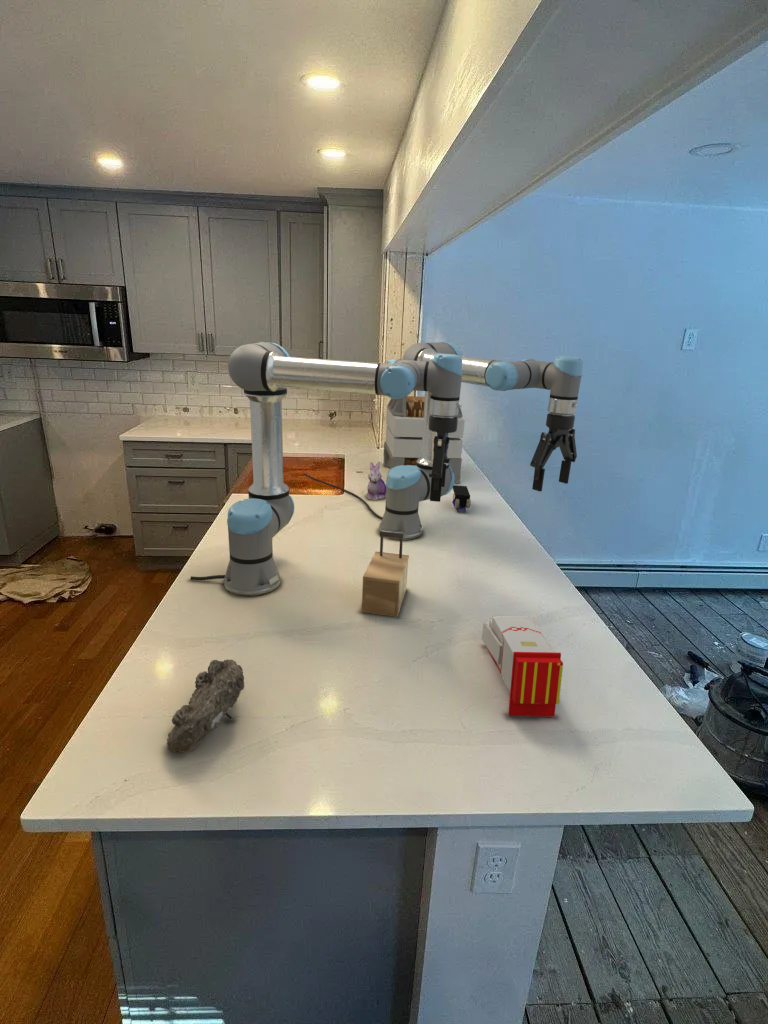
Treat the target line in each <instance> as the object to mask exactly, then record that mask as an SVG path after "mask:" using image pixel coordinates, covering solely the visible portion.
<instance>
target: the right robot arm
mask: <svg viewBox="0 0 768 1024" xmlns="http://www.w3.org/2000/svg"><path fill="white" fill-rule="evenodd" d="M435 354H454V355H459V356H460V357H461V358H462V380H461V383H463V384H464V383H465V384H471V385H477V386H482V387H488V388H490V389H491V390H493V391H499V392H506V391H511V390H523V389H524V390H525V389H540V390H547V391H549V400H548V406H547V411H548V412H547V414H546V420H545V426H546V427H547V428H548V432H544V431H543V432H541V433H540V438H539V441H538V444H537V446H536V449H535V451H534V454H533V455H532V458H531V461H530V464H529V465H530V467H532V468H534V472H533V479H532V480H533V482H532V490H534V491H535V492H542V491H543V485H544V478H545V473H546V469H545V466H546V464H547V462H548V460H549V459H550V457H551V455H552V453H553V452H554V451H556V450H557V448H559V450H560V452H561V455H562V458H563V459H562V460H561V463H560V469H559V476H558V482H559V483H563V484H564V485H565V484H566V485H567V484H569V481H570V480H569V479H570V473H571V466H572V463H575V462H576V459H577V457H578V452H577V446H576V429H575V428H574V427H575V426H574V425H575V419H576V416H575V414H576V413H577V412H576V411H577V407H578V399H579V392H580V387H581V382H582V377H583V368H584V360H583V359H582V357H580V356H569V355H556V356H555V358H554V361H552V362H551V361H544V360H543V361H542V360H536V359H532V358H531V359H528V358H527V359H525V358H524V359H521V360H519V361H518V360H517V361H510V360H509V361H508V360H501V359H500V360H499V359H491V358H483V357H475V356H469V355H463V352H462V351H461V350H460V347H458V346H457V345H456V344H454V343H451V342H445V341H443V342H442V341H441V342H440V341H439V342H438V341H437V342H417V343H414V344H411V345H410V346H408V347H407V348H406V350H405V351H404V353H403V355H402V358H401V359H402V360H413V361H425V362H427V361H432V360H433V357H434V355H435ZM424 397H425V401H424V418H423V434H422V451H421V457H420V458H419V459H418V460H417V462H416V466H413V465H401V466H396V467H394V468H392V469H390V468H389V470H388V472H387V474H386V479H385V484H386V496H385V504H384V505H385V507H384V508H385V509H384V513H383V515H382V516H380V515H378V514H377V513H376V512H375V511H374V510H373V509H372V508H371V507H370V505H369V504H368V503H367V502H366V501H365V500H364V499H363V498H362V497H360V496H359V495H357V494H356V493H354V492H352V491H350V490H347V489H344V488H342V487H340V486H337V485H334V484H331V483H329V482H325V481H322V480H320V479H318V478H315V477H313V476H311V475H308V474H307V473H304V474H303V475H304V476H305V477H307V478H309V479H312V480H313V481H316V482H318V483H321V484H324V485H327V486H330V487H332V488H335V489H338V490H340V491H343V492H345V493H347V494H350V495H351V496H354V497H355V498H357V499H358V500H360V501H361V502H362V503H363V504H364V505H365V506H366V507H367V509H368V510H369V511H370V513H372V514H373V515H374V516H375V517H377V518H378V519H380V520H381V522H379V525H378V533H380V530H390V531H400V532H404V538H403V541H410V540H415V539H418V538H420V537H421V536H422V535H423V525H422V524H421V518H420V515H419V507H420V506H419V505H420V502H423V501H428V500H430V492H431V478H432V477H429V474H431V473H432V466H433V457H434V453H433V449H434V438H435V436H437V432H433V431H430V430H429V428H428V425H429V417H430V415H431V414H430V413H429V408H430V398H431V392H430V391H424ZM444 464H446V475H445V486H444V487H441V497H443V496H446V495H448V494H449V493H450V492H451V491H452V490H453V485H455V483H454V480H455V478H454V473H453V472H452V471H453V470H452V468H451V467H450V466H449V464H448V463H444ZM389 540H395V541H400V539H395V538H389Z"/></svg>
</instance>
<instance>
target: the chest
mask: <svg viewBox="0 0 768 1024" xmlns="http://www.w3.org/2000/svg"><path fill="white" fill-rule="evenodd" d="M408 567H409V560H408V561H407V564H406V567H405V570H404V572H403V575H402V578H401V581H400V584H396V583H388V582H380V581H372V580H364V579H363V578H362V589H361V590H362V594H361V595H362V596H361V613H366V614H373V615H380V616H387V617H395V618H398V616H399V613H400V610H401V607H402V604H403V601H404V598H405V596H406V593H407V592H406V591H407V583H408Z"/></svg>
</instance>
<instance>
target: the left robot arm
mask: <svg viewBox="0 0 768 1024" xmlns="http://www.w3.org/2000/svg"><path fill="white" fill-rule="evenodd" d="M402 359H403V358H399V359H397V358H396V359H389V360H387V361H386V363H385V362H369V361H357V360H356V361H354V360H342V359H341V360H340V359H327V358H313V357H299V356H298V357H297V356H290V354H289V352H287V350H286V349H285V348H284V347H283V346H282V345H280V344H278V343H275V342H269V341H260V342H253V343H247V344H243V345H240V346H239V347H236V348H235V349H234V351H232V352H231V354H230V356H229V359H228V363H227V371H228V375H229V377H230V379H231V380H232V382H233V383H234V384H235V386H237V387H239V388H240V389H242V390H243V395H244V396H245V397H247V399H248V400H249V409H250V410H249V412H250V431H251V432H250V433H251V434H250V435H251V453H252V454H251V457H252V458H251V459H252V478H253V480H252V481H253V482H252V484H251V485H250V486H249V487H248V489H247V491H248V492H247V493H248V498H246V499H243V500H238V501H235V502H234V503H233V504H232V505H231V506H230V507H229V508H228V511H227V519H226V524H227V533H228V551H229V552H228V553H229V562H228V564H227V568H226V572H225V574H219V575H208V576H192V575H191V576H190V581H211V580H220V579H221V580H222V579H224V580H223V582H224V583H223V584H224V589H225V590H226V591H227V592H229V593H231V594H233V595H234V594H235V595H238V596H243V597H253V596H261V595H266V594H268V593H270V592H272V591H274V590H276V589H277V588H278V587H279V586H280V584H281V577H280V573H279V569H278V566H277V564H276V562H275V559H274V556H273V554H274V553H273V538H274V537H275V536H276V535H277V534H278V533H280V532H281V530H283V529H284V528H285V527H286V526H287V525H288V524H289V523H290V521H291V520H292V518H293V516H294V513H295V502H294V499H293V497H292V495H290V487H289V485H287V484H286V483H285V481H284V447H283V445H284V442H283V405H282V404H283V403H282V402H283V400H284V398H285V397H286V396H287V395H288V389H294V390H304V391H305V390H307V391H320V392H321V391H322V392H331V393H332V392H333V393H348V394H363V395H375V396H383V397H388V398H390V399H391V398H393V399H401V398H404V397H406V396H410V394H411V393H412V392H414V391H416V392H425V391H430V392H431V398H430V408H429V413H430V414H431V415H430V417H429V425H428V428H429V430H430V431H433V432H437V436H435V438H434V449H433V453H434V457H433V466H432V473H431V474H429V477H432V478H431V492H430V499H429V501H430V502H436V503H437V502H438V503H441V498H442V496H441V487H444V486H445V475H446V464H444V463H448V464H449V460H447V449H448V446H449V440H450V437H448V433H453V432H456V431H457V424H458V418H457V417H456V416H457V415H458V410H459V409H458V408H462V403H460V398H461V397H460V396H461V390H462V389H461V388H462V382H461V380H462V358H461V357H460V356H459V355H454V354H435V355H434V357H433V360H432V361H427V362H425V361H413V360H402ZM458 403H459V404H458Z"/></svg>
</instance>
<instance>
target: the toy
mask: <svg viewBox="0 0 768 1024" xmlns="http://www.w3.org/2000/svg"><path fill="white" fill-rule="evenodd" d="M481 632H482V633H481V640H482V642H483V644H484V646H485V648H486V650H487V652H488V654H489V655H490V657H491V659H492V661H493V663H494V664H495V666H496V668H497V670H498V671H499V674H500V676H501V678H502V680H503V682H504V684H505V687H506V688H507V690H508V692H509V700H508V702H509V703H508V710H507V711H508V712H507V715H508V717H551V718H552V717H553V718H555V716H556V707H557V705H559V704H560V698H561V697H560V695H561V688H562V687H561V686H562V678H563V669H564V662H563V661H562V653H561V652H556V651H555V649H554V648H553V647H552V645H551V644H550V643H549V641H548V639H547V638H546V637H545V635H544V634H543V633H542V631H541V630H540V629H539V628H538V626H537V624H536V622H535V621H534V620H533V619H532V617H531V616H514V615H513V616H512V615H511V616H508V615H507V616H506V615H505V616H504V615H492V618H489V620H488V623H487V621H483V623H482V631H481Z"/></svg>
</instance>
